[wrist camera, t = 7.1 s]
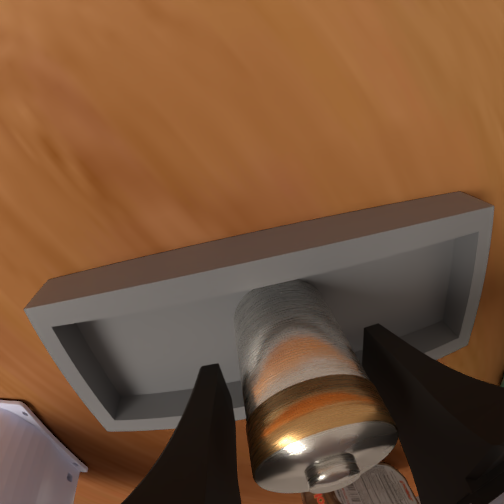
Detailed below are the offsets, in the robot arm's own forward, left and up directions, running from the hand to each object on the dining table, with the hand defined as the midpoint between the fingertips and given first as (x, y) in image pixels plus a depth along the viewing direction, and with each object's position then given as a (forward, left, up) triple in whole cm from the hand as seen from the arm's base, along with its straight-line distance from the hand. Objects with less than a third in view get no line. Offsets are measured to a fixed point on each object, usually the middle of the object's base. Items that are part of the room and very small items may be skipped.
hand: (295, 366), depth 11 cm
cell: (0, 0, -3) cm, 3 cm away
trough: (0, 0, -3) cm, 3 cm away
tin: (-20, -5, -4) cm, 21 cm away
